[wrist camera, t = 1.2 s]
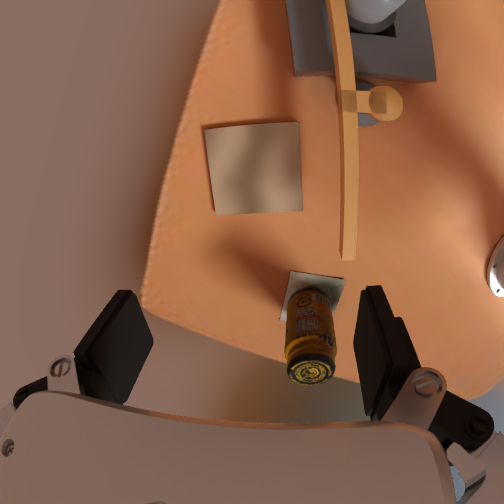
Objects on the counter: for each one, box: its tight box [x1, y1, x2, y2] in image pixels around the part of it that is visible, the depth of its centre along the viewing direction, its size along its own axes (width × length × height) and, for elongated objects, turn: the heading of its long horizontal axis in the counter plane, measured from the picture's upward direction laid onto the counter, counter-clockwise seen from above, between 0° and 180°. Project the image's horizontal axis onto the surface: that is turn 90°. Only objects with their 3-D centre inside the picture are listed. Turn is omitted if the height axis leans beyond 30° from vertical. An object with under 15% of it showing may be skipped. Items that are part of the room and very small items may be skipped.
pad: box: [204, 122, 303, 215], centre depth 31 cm, size 10×10×1 cm
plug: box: [344, 0, 406, 34], centre depth 17 cm, size 6×6×11 cm
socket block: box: [285, 0, 436, 126], centre depth 20 cm, size 14×20×6 cm
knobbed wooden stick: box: [326, 0, 403, 261], centre depth 20 cm, size 5×26×2 cm, turn 6°
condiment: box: [280, 271, 346, 386], centre depth 33 cm, size 7×8×12 cm
